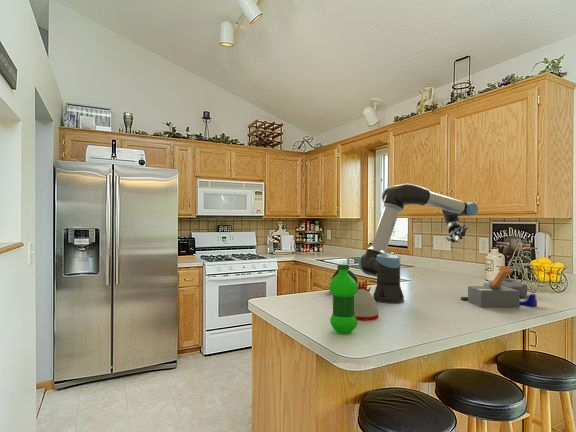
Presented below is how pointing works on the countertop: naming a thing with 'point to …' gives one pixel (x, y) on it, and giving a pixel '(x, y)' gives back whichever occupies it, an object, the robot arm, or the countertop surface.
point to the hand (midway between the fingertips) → (459, 241)
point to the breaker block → (493, 296)
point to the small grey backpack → (515, 286)
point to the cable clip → (530, 301)
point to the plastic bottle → (343, 301)
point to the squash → (348, 273)
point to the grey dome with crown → (364, 304)
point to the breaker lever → (501, 276)
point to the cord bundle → (464, 298)
